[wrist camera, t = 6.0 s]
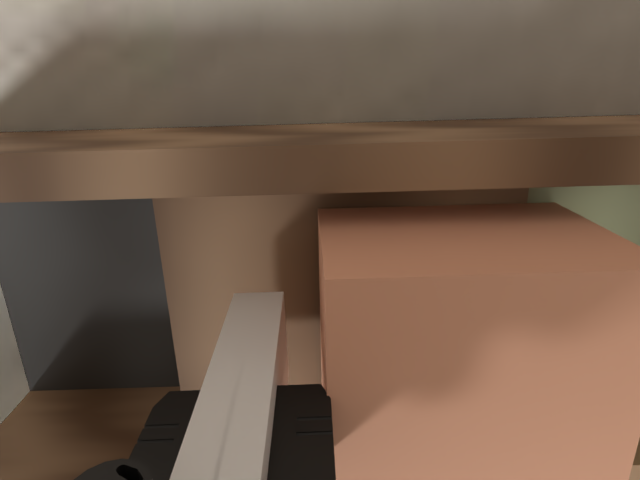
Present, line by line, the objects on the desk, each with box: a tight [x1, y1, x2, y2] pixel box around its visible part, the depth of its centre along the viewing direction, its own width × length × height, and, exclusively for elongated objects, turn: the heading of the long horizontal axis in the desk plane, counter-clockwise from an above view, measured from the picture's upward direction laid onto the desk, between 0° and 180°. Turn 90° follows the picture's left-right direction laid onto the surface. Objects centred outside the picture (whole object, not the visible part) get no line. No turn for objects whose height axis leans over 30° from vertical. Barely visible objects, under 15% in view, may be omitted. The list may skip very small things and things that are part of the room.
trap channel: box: [0, 115, 640, 480], centre depth 16 cm, size 36×11×5 cm, turn 91°
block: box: [318, 202, 640, 480], centre depth 13 cm, size 7×7×5 cm
